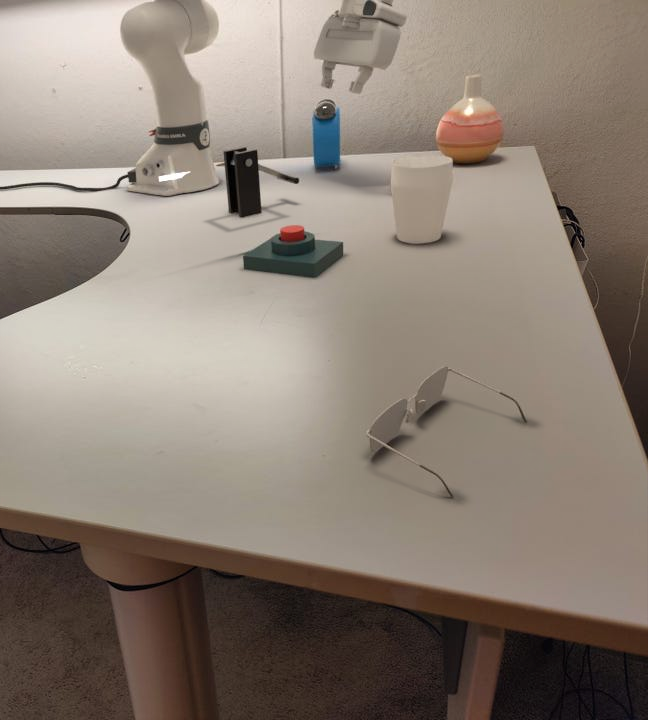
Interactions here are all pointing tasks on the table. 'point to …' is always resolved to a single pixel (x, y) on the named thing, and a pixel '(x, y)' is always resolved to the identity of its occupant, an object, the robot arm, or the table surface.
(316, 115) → the blue block with ball
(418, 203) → the cup
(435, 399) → the eyeglasses
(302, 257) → the button box
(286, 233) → the button
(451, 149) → the vase
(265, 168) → the lever
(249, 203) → the bracket
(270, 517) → the table surface
